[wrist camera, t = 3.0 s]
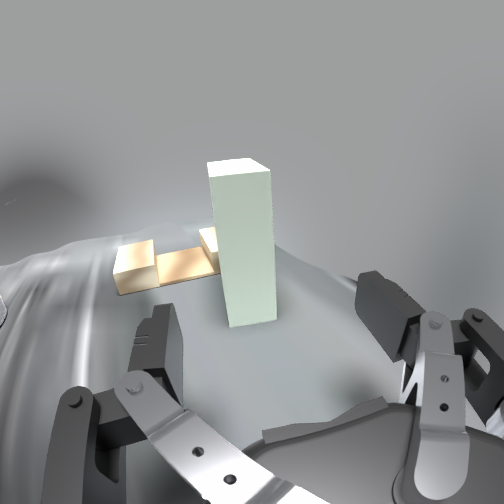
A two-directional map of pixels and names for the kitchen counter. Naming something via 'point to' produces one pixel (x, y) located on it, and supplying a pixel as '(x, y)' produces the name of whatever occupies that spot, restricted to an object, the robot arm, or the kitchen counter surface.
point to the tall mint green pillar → (244, 239)
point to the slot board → (164, 264)
